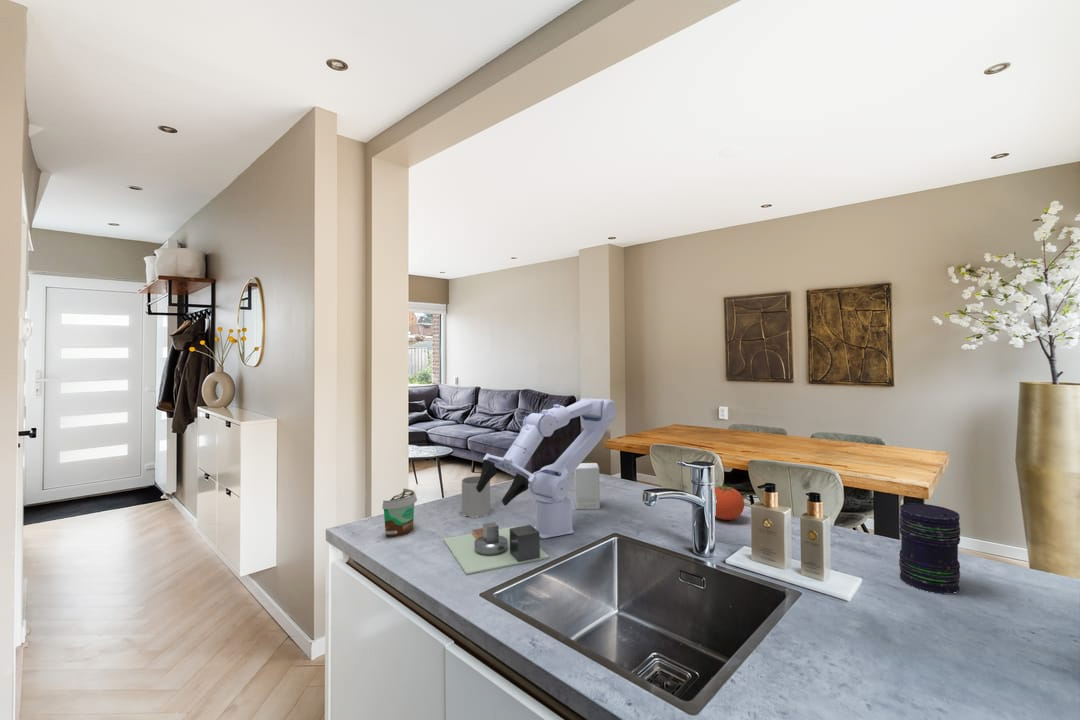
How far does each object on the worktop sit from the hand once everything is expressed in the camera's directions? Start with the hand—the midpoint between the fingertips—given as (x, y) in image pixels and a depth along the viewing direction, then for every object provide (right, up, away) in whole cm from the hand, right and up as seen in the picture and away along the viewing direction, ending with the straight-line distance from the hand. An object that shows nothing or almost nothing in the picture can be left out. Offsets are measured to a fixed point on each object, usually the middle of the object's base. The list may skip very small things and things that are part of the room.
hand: (490, 496), depth 119 cm
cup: (-7, -14, +32) cm, 35 cm away
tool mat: (0, -14, +4) cm, 15 cm away
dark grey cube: (+8, -14, -1) cm, 16 cm away
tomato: (+64, -13, +23) cm, 69 cm away
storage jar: (+92, -13, -16) cm, 94 cm away
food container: (-25, -14, +17) cm, 33 cm away
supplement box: (+26, -13, +37) cm, 47 cm away
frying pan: (-2, -14, +6) cm, 15 cm away
